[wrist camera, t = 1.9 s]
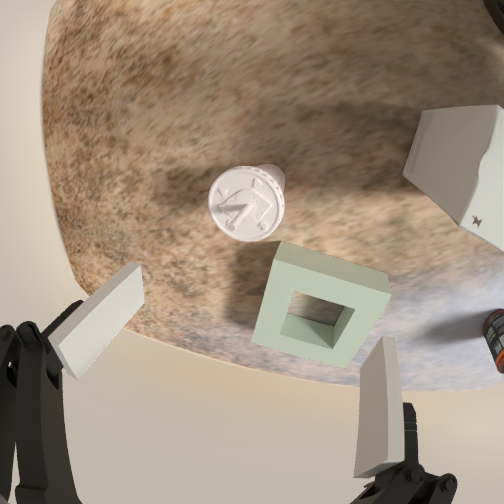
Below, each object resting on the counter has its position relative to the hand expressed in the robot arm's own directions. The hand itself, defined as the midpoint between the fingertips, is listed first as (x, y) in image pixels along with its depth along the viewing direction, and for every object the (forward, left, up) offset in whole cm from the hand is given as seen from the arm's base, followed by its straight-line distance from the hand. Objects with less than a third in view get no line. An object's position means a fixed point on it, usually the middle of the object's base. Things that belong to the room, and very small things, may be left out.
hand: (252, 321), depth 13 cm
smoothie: (-2, -4, -20) cm, 20 cm away
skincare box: (-11, +13, -20) cm, 26 cm away
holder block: (+12, +6, -20) cm, 24 cm away
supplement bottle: (+7, +37, -20) cm, 43 cm away
